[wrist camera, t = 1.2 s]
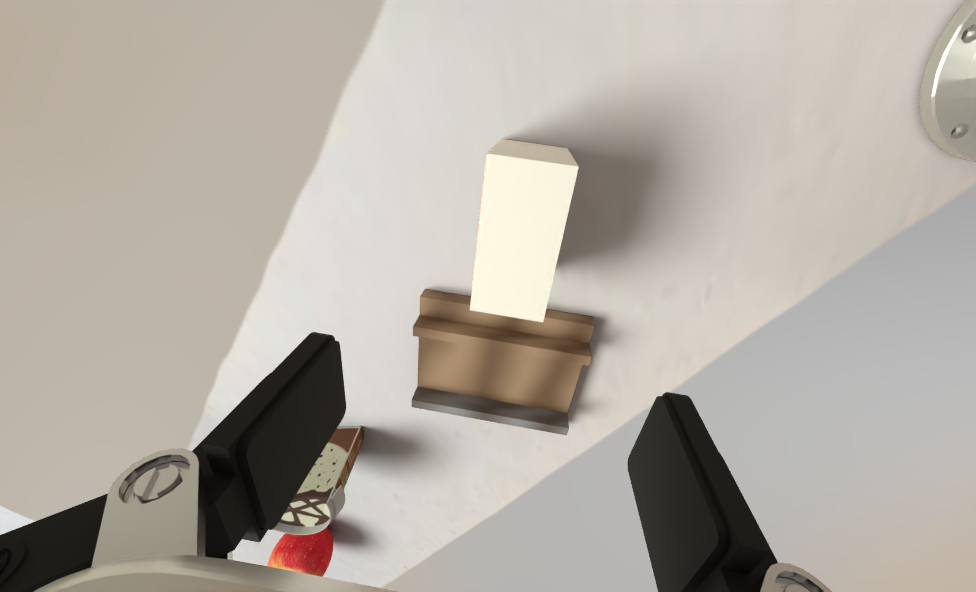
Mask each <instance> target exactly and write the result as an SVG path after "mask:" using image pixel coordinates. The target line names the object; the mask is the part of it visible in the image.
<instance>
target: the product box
mask: <svg viewBox="0 0 976 592" xmlns="http://www.w3.org/2000/svg"><path fill="white" fill-rule="evenodd" d="M578 168H579V166H578V165H577V163H576V161H575V160H574V158H573V157H572V155H571V153H570V152H569V150H568V148H563V147H556V146H549V145H542V144H535V143H527V142H520V141H513V140H506V139H501V140H500V141H499V142H498V143H497V144H496V145H495V146H494V147H493V148H492V149H491V150H490V151H489V152H488V153H487V155H486V164H485V173H484V178H483V187H482V196H481V205H480V215H479V224H478V233H477V243H476V252H475V261H474V271H473V284H472V293H471V302H470V310H472V311H478V312H484V313H490V314H496V315H502V316H508V317H514V318H520V319H526V320H532V321H538V322H543V321H544V317H545V312H546V308H547V303H548V299H549V295H550V290H551V286H552V282H553V277H554V273H555V268H556V264H557V260H558V255H559V251H560V247H561V242H562V238H563V234H564V229H565V225H566V220H567V216H568V212H569V207H570V203H571V199H572V194H573V190H574V185H575V181H576V177H577V172H578Z"/></svg>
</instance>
